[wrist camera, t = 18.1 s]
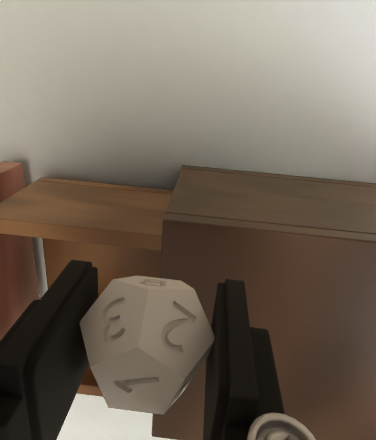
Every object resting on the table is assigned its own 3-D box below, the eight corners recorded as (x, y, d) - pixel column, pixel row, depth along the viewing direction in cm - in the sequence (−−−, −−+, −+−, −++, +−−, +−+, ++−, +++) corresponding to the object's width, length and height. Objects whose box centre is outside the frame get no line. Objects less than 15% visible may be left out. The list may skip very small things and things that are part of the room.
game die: (226, 338, 11) (229, 428, 8) (119, 351, 12) (88, 439, 9) (203, 243, 10) (198, 313, 7) (83, 264, 10) (34, 335, 8)
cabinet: (170, 330, 27) (151, 437, 19) (182, 164, 22) (162, 219, 14) (368, 353, 26) (432, 473, 19) (434, 189, 21) (563, 261, 13)
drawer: (-44, 308, 27) (-122, 379, 21) (-83, 152, 22) (-204, 185, 15) (212, 337, 26) (210, 422, 20) (233, 183, 21) (240, 231, 15)
